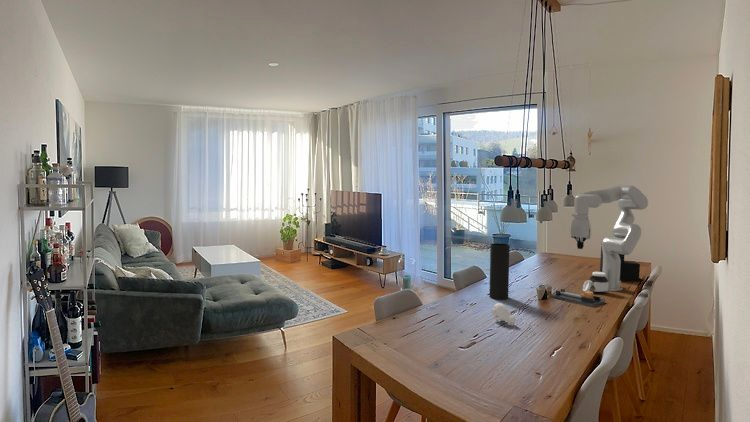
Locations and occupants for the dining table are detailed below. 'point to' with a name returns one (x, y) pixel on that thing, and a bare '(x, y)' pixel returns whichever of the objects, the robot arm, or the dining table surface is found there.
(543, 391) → the dining table surface
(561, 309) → the dining table surface
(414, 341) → the dining table surface
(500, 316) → the white rounded lump
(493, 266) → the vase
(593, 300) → the plate
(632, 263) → the bookend
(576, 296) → the strap
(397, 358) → the dining table surface
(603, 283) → the spread jar
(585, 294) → the block
